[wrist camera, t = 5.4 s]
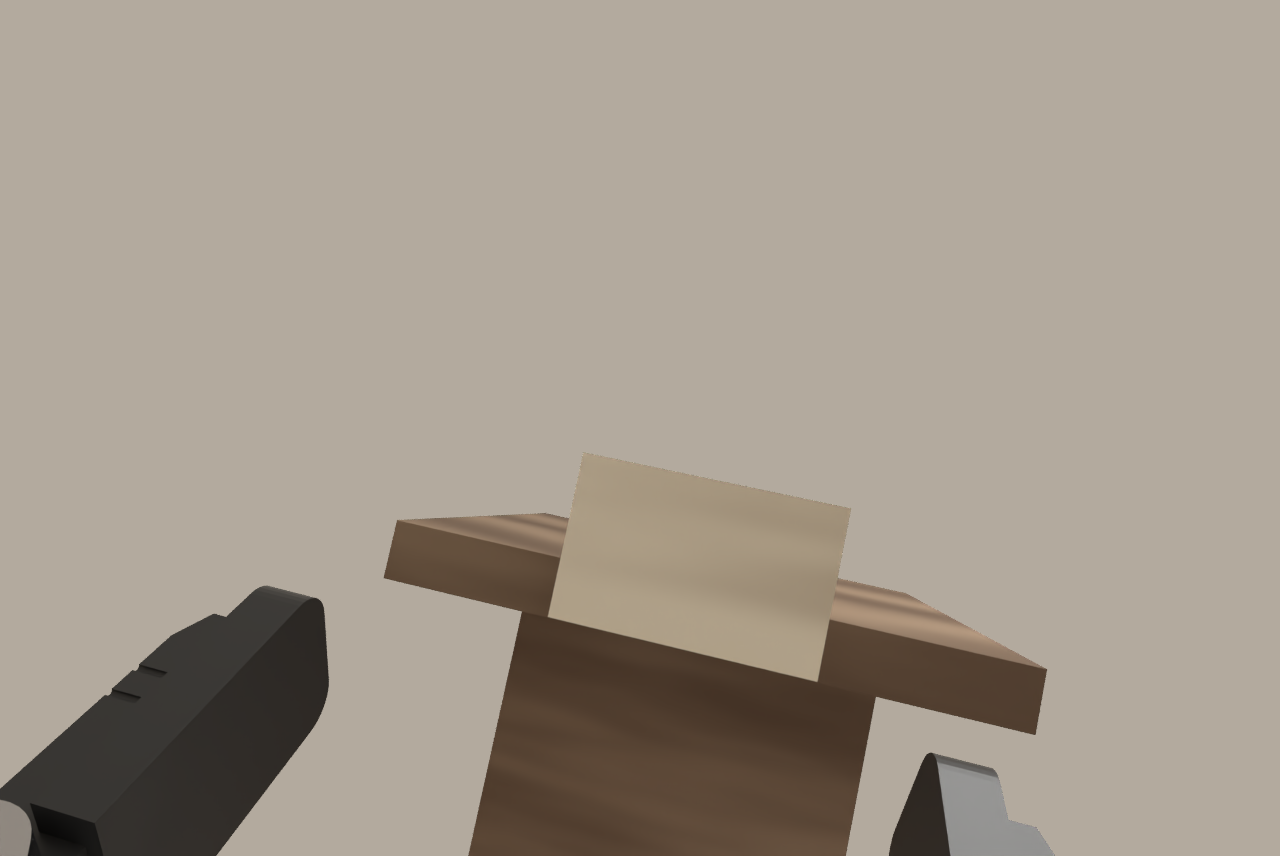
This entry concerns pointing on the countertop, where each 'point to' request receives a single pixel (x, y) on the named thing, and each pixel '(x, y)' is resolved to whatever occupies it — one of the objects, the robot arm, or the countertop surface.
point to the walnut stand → (691, 711)
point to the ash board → (700, 565)
